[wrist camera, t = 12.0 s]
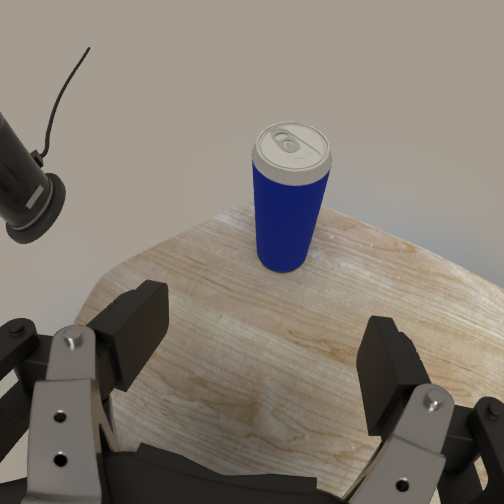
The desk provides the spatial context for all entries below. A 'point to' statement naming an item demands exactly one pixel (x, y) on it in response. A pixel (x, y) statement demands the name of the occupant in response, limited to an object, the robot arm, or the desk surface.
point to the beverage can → (288, 191)
